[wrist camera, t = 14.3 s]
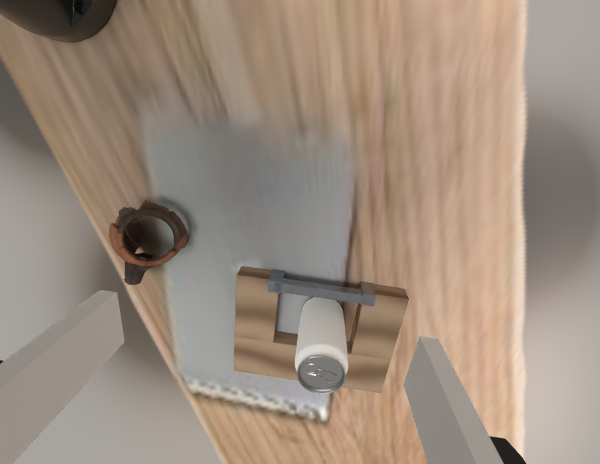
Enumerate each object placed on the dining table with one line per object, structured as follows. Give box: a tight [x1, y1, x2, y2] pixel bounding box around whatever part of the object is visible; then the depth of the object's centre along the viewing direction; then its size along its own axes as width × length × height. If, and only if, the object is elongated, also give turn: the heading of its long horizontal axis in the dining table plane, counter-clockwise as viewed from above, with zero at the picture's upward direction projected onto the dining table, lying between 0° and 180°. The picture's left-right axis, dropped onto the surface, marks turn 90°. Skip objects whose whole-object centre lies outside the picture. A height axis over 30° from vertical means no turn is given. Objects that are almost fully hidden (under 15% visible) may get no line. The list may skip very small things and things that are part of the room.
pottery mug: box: [109, 200, 188, 285], centre depth 39 cm, size 12×9×8 cm
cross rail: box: [268, 270, 376, 307], centre depth 40 cm, size 2×15×3 cm, turn 83°
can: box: [295, 297, 348, 394], centre depth 38 cm, size 6×6×12 cm
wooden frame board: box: [234, 267, 409, 393], centre depth 44 cm, size 18×24×2 cm
